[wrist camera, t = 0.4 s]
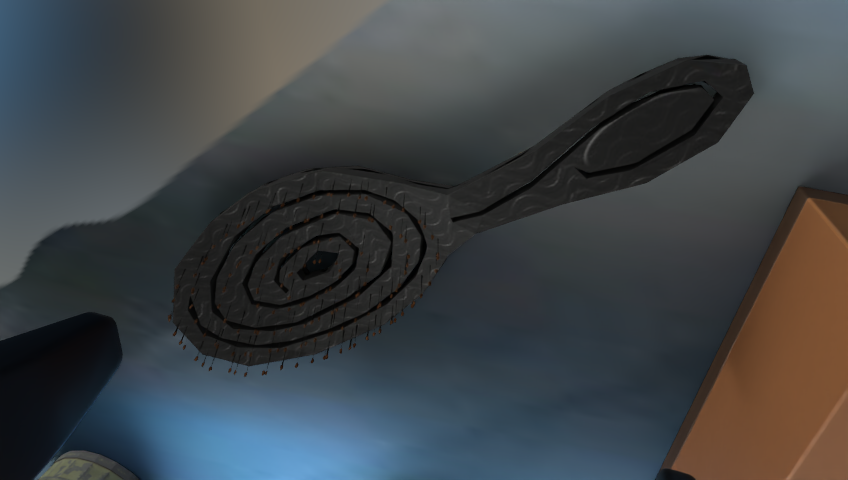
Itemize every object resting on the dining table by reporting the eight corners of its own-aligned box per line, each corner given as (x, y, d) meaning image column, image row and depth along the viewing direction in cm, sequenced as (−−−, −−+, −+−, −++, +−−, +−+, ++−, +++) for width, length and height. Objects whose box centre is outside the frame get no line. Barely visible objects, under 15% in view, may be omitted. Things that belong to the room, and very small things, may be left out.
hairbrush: (813, 214, 17) (225, 414, 26) (772, 173, 20) (262, 365, 30) (723, -55, 14) (112, 274, 24) (693, -52, 18) (165, 237, 27)
